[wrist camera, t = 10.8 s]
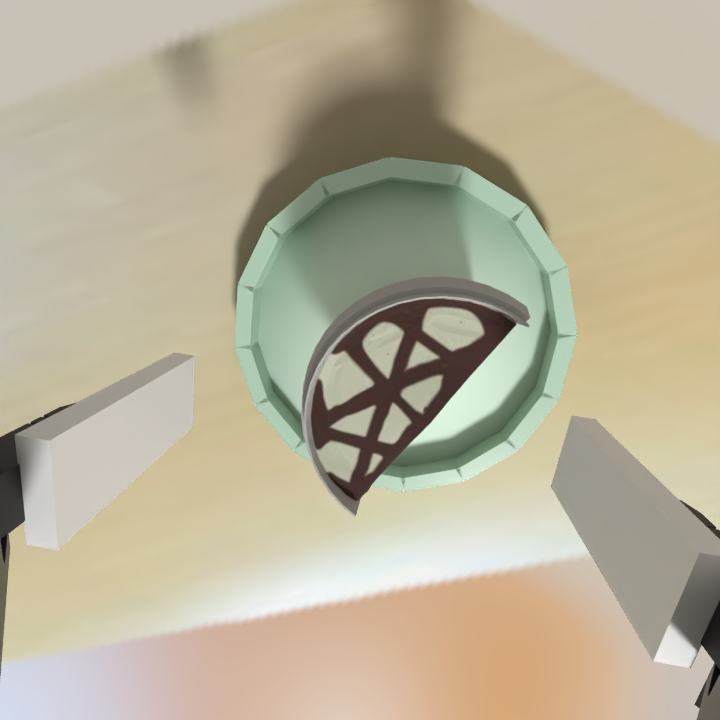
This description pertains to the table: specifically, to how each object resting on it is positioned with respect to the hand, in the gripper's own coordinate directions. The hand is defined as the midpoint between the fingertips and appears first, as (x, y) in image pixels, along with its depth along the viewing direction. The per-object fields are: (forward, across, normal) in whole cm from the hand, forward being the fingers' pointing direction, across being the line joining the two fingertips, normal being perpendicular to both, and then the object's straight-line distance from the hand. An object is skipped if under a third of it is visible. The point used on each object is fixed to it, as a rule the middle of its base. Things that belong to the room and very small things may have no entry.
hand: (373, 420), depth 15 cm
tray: (+14, +1, 0) cm, 14 cm away
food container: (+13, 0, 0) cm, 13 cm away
